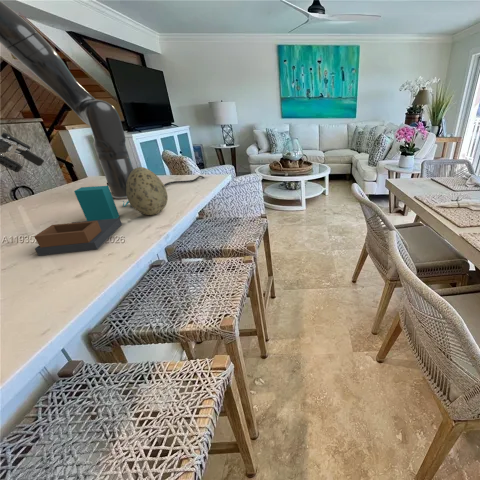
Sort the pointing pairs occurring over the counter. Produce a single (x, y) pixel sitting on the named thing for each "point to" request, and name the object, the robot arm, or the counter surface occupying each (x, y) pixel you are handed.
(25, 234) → the counter surface
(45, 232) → the brown tray on base
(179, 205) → the counter surface
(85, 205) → the teal rectangular block
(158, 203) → the decorative egg
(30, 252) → the counter surface
